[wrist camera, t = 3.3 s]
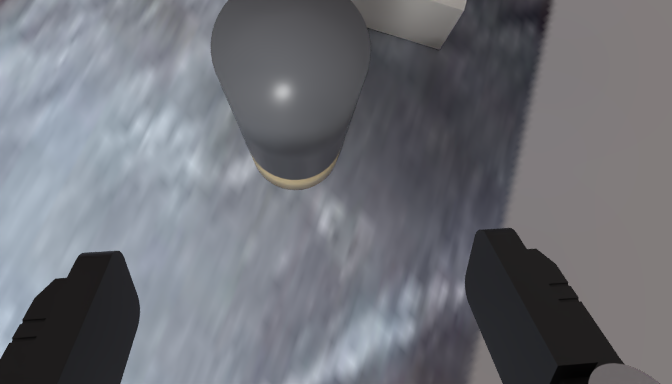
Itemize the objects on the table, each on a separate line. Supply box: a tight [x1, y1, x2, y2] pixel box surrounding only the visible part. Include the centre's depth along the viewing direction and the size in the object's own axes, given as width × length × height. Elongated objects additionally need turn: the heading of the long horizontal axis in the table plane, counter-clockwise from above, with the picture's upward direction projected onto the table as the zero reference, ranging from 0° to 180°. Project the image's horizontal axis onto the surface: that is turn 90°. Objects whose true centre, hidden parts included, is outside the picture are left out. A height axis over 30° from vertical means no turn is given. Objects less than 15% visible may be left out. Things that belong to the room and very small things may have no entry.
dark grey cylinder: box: [211, 0, 371, 190], centre depth 17 cm, size 4×4×10 cm
